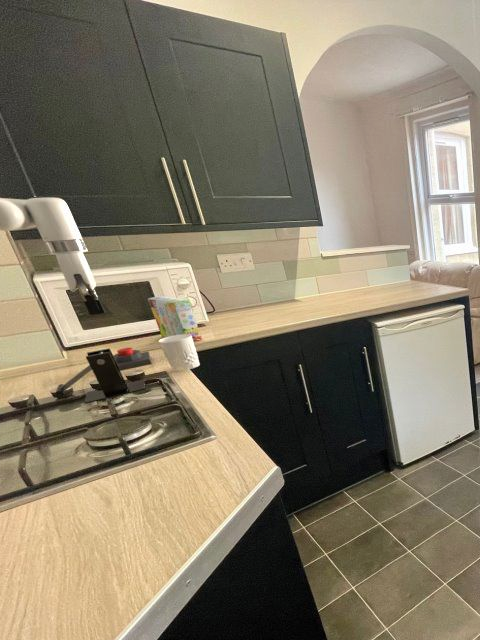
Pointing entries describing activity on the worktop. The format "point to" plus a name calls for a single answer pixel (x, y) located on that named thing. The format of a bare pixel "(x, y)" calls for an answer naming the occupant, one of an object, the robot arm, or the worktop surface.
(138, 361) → the button box
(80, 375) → the press lever
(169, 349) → the white cup
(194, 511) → the worktop surface
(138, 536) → the worktop surface
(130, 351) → the button
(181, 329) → the snack box
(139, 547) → the worktop surface
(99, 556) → the worktop surface
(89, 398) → the lever stand
